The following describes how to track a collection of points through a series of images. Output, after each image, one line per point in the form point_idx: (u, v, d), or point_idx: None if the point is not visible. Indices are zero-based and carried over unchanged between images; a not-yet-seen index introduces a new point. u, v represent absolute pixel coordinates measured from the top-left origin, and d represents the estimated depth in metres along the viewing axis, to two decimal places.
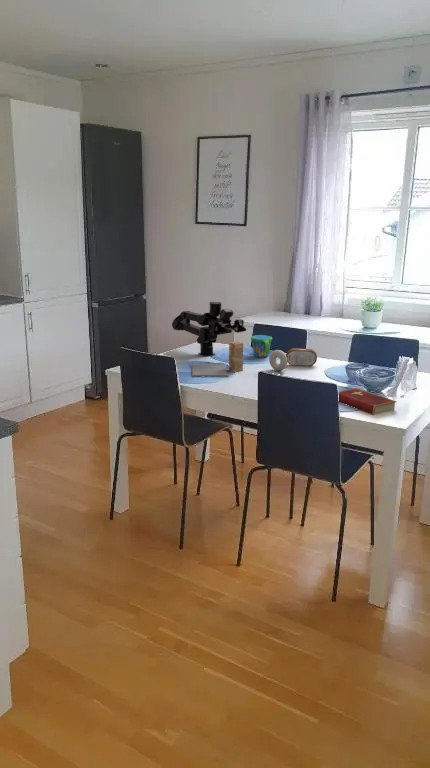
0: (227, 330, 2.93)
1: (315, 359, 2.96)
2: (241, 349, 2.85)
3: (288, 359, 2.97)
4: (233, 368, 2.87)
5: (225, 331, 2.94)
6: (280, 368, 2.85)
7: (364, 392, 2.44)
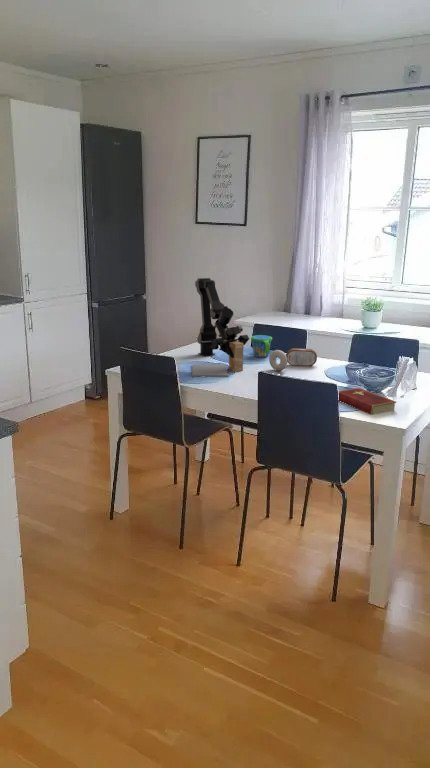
0: (230, 353, 2.85)
1: (315, 359, 2.96)
2: (241, 349, 2.85)
3: (288, 359, 2.97)
4: (233, 368, 2.87)
5: (228, 352, 2.86)
6: (280, 368, 2.85)
7: (366, 392, 2.44)
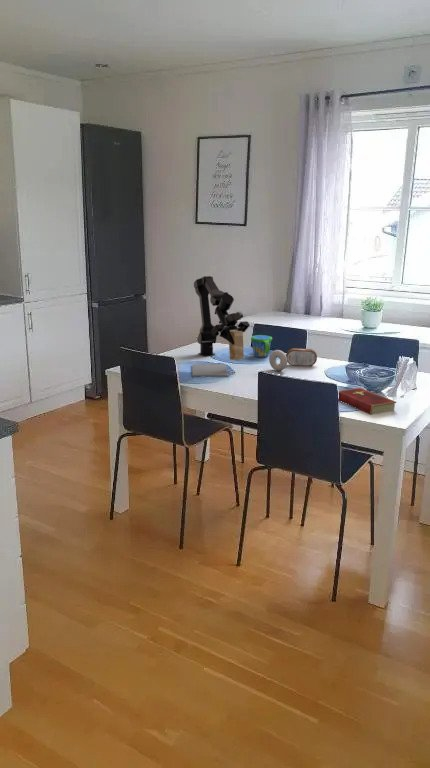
0: (230, 340, 2.83)
1: (315, 359, 2.96)
2: (241, 337, 2.84)
3: (288, 359, 2.97)
4: (234, 357, 2.85)
5: (228, 339, 2.84)
6: (280, 368, 2.85)
7: (366, 392, 2.44)
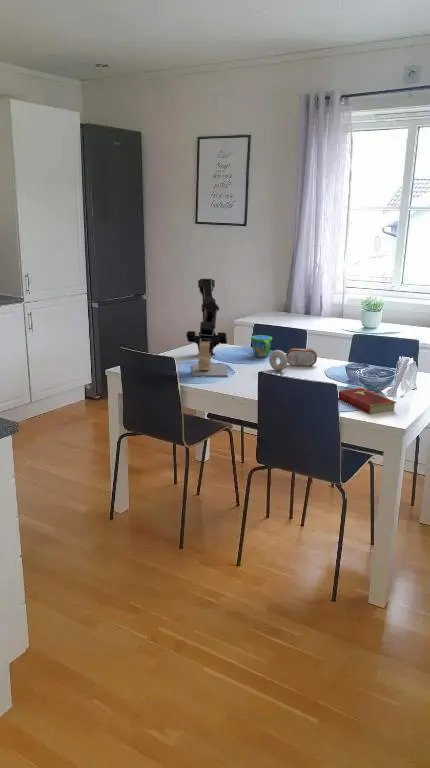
0: (198, 348, 2.84)
1: (315, 359, 2.96)
2: (206, 347, 2.81)
3: (288, 359, 2.97)
4: None
5: None
6: (280, 368, 2.85)
7: (367, 392, 2.44)
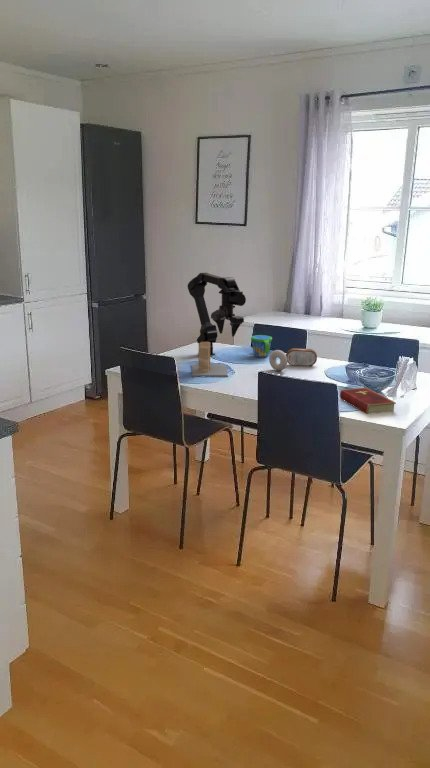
0: None
1: (315, 359, 2.96)
2: (206, 350, 2.79)
3: (288, 359, 2.97)
4: None
5: None
6: (280, 368, 2.85)
7: (370, 392, 2.44)
